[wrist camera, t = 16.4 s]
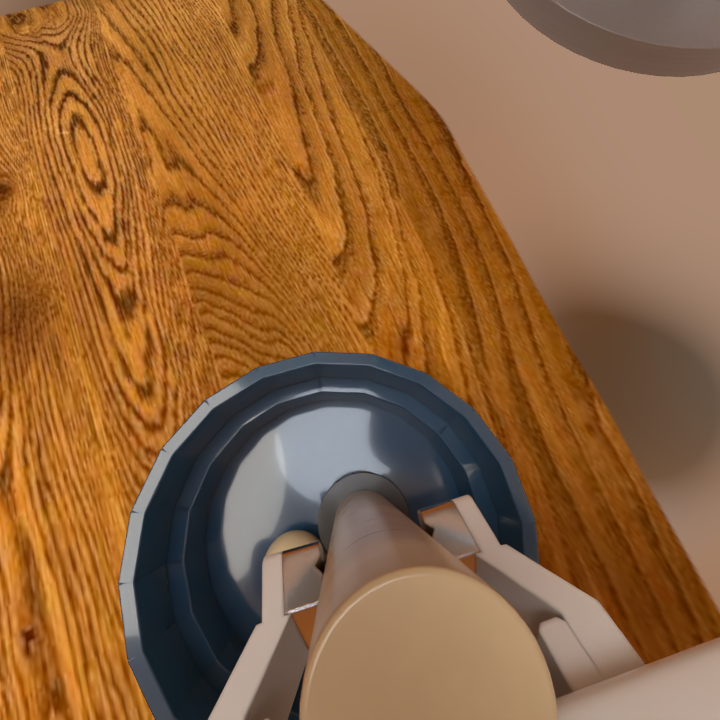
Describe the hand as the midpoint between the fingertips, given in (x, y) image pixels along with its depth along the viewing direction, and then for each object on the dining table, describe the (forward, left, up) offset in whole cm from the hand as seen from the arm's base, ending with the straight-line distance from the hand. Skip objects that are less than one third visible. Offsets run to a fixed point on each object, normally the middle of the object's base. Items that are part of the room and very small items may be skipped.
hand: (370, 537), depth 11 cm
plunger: (0, +1, -9) cm, 9 cm away
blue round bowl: (+2, 0, -11) cm, 11 cm away
